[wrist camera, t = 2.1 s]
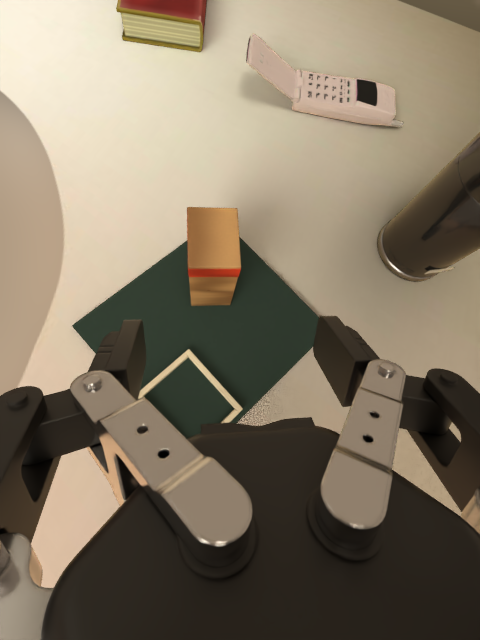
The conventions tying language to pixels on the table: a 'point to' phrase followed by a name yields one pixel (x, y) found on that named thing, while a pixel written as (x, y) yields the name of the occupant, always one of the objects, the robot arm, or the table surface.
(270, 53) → the mobile phone
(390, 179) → the table surface
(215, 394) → the mat
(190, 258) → the box
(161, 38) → the hardcover book
